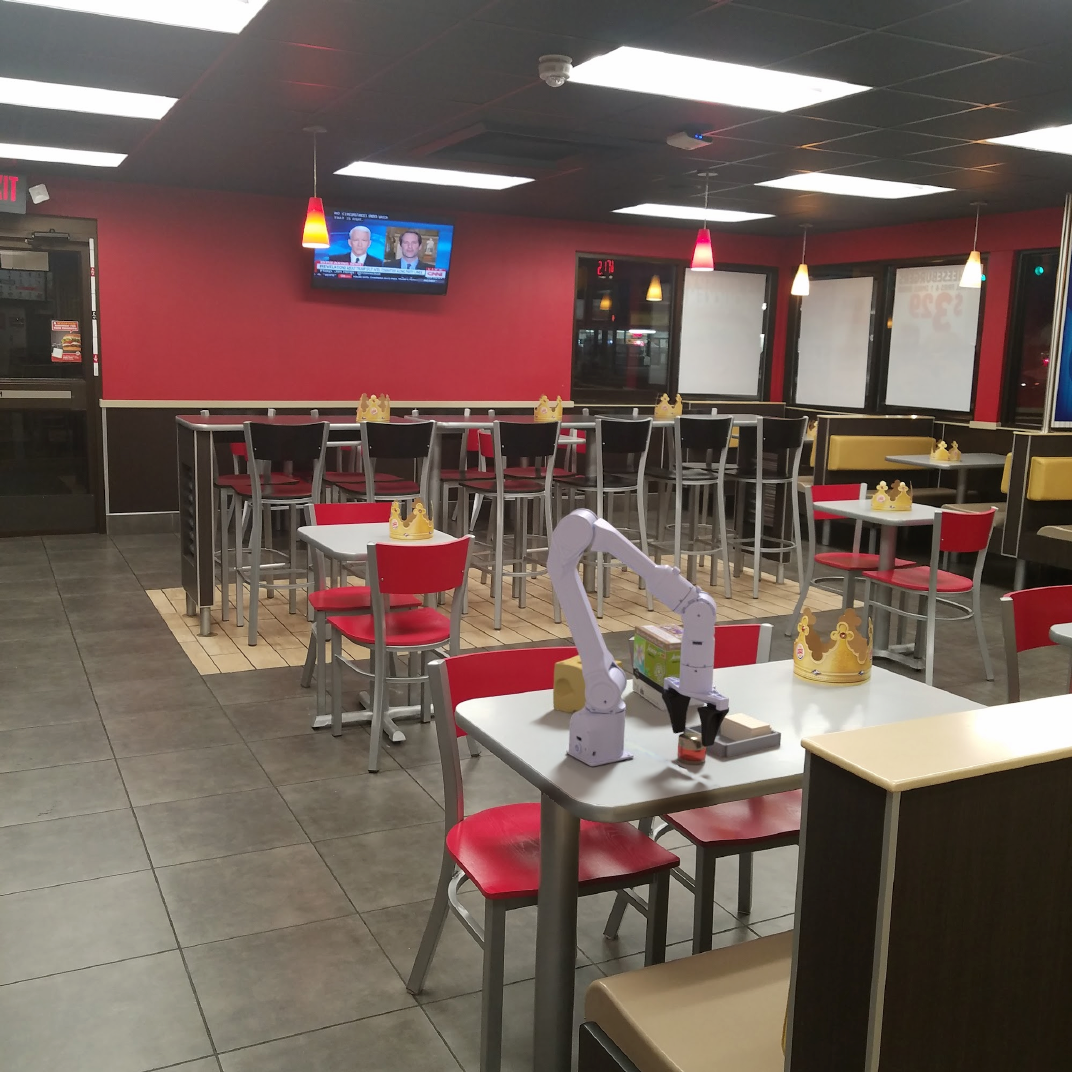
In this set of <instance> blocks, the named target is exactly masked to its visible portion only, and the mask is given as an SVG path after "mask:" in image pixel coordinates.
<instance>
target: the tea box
mask: <svg viewBox="0 0 1072 1072" xmlns="http://www.w3.org/2000/svg"><path fill="white" fill-rule="evenodd" d="M683 628H684V627H682V626H680V625H678V624H676V623H675V622H674V623H672V622H671V623H663V624H662V623H661V624H652V625H651V624H650V625H635V626H634V637H633V638H634V639H633V661H632V662H633V665H632V667H633V668H632V691H633V692H636V693H637V694H638V695H641V697H642V698H644V699H646V700H647V701H648V702H650V703H651V704H653V706H655V707H657V708H658V709H660V711H661V712H666V711H667V712H668V709H667V707H666V704H665V702H664V700H663V699H662V694H663V693H667V691H668V690H667V689H664V678H668V677H675V678H678V679H680V658H681V638H682V635H683ZM703 705H705V703H704V702H701V701H698V700H696V699H693V698H691V699H690V702H689V706H688V707H693V706H703Z"/></svg>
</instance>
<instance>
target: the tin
mask: <svg viewBox="0 0 1072 1072" xmlns="http://www.w3.org/2000/svg"><path fill="white" fill-rule="evenodd" d="M706 755H707V750H706V747H704V746H702V740H701V734H697V733H683V732H681V733H679V735H678V743H677V753H676V756H677V758H676V759H677V761H678V762H679V763H682V764H684V765H688V766H700V765H703V764H705V763H706V758H707V757H706ZM677 766H678V767H680V768H683V769H687V767H686V768H685V767H684V766H682V765H680V764H677Z"/></svg>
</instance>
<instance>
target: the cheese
mask: <svg viewBox="0 0 1072 1072" xmlns="http://www.w3.org/2000/svg"><path fill="white" fill-rule="evenodd" d="M614 661H615V663H616V664H617V665H618V666H619V667H620V668H621V669H622V670H623V662H622V661H621V660H615V659H614ZM623 671H624V670H623ZM585 688H586V685H585V680H584V678H583V673H582V662H581V658H580V656H579V654H578V655H575V656H573V657H571V658H567V659H564V660H561V661H557V662H555V663H554V669H553V691H552V692H553V693H552V695H553V696H552V700H553V704H552V705H553V709H554V710H556V711H560V712H564V713H568V714H574V713H575V712H577V711H580V710H581V709H583V708H584V706H585V702H586V698H585Z"/></svg>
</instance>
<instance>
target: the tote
mask: <svg viewBox="0 0 1072 1072" xmlns="http://www.w3.org/2000/svg"><path fill="white" fill-rule="evenodd" d="M682 733H697V734H701V723H698V724H695V725H689V726H685V730H684V732H682ZM781 739H782V732H779V731H777V730H774V729H772V728H771V734H768V735H764V736H759V737H755V738H750V739H746V740H742V741H735V740H732V739H730V738H728V737H725V736H723V735H721V725H720V727H719V730H718V732H717V735H716V738H715V741H714V745H711V746H707V747H706V751H708V752H710V753H713V754H714V755H715V754H716V755H717V756H720V757H722V758H723V759H725V758H730V757H733V756H738V755H743V754H748V753H751V752H756V751H760V750H765V749H768V748H773V747H777V746H780V745H781V741H782V740H781Z"/></svg>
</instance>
